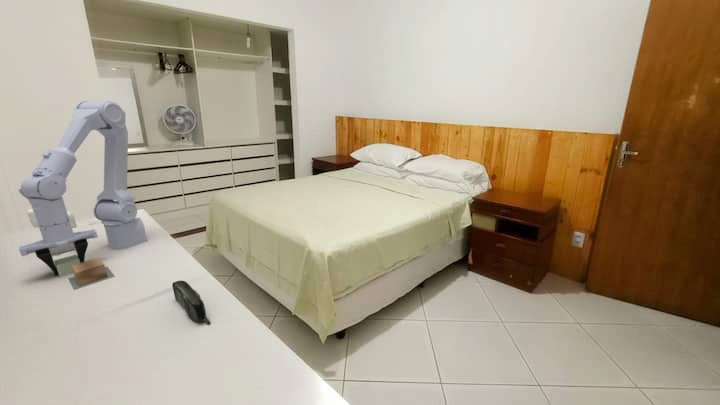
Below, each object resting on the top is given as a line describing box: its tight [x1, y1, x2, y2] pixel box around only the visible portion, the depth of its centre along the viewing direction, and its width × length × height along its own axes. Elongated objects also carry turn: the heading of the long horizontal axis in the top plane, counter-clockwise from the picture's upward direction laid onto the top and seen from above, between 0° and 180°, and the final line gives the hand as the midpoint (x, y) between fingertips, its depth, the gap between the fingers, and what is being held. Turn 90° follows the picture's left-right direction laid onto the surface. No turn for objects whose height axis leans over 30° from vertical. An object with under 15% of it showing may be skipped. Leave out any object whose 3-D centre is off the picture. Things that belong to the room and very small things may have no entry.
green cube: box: [53, 254, 80, 277], centre depth 83 cm, size 4×4×4 cm
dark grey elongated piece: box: [171, 280, 211, 325], centre depth 68 cm, size 5×3×15 cm
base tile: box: [67, 265, 115, 291], centre depth 80 cm, size 8×8×2 cm
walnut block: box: [72, 257, 108, 286], centre depth 79 cm, size 6×6×4 cm
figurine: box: [26, 208, 78, 255], centre depth 96 cm, size 7×9×15 cm
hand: (69, 270), depth 83 cm, fingers closed on green cube, 4 cm apart
